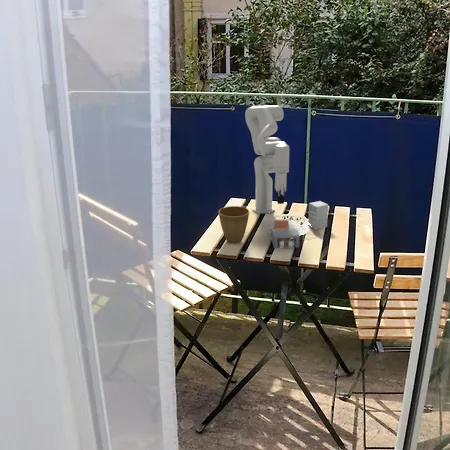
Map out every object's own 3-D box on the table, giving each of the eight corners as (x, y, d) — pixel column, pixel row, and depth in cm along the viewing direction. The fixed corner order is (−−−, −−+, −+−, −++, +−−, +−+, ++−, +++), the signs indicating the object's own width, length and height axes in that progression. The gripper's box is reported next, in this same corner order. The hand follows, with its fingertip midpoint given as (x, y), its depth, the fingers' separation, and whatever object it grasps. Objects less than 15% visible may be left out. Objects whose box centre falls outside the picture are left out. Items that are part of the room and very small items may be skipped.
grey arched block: (274, 231, 291) (274, 219, 289) (287, 231, 291) (287, 219, 289) (276, 240, 280) (277, 228, 278) (290, 240, 280) (291, 228, 278)
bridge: (270, 234, 287) (270, 222, 285) (293, 233, 288) (294, 222, 285) (273, 247, 271) (274, 235, 268) (299, 247, 271) (299, 235, 269)
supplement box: (319, 222, 302) (320, 200, 298) (327, 227, 296) (328, 204, 291) (307, 225, 299) (308, 202, 295) (315, 229, 293) (317, 206, 288)
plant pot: (221, 235, 287) (221, 205, 281) (250, 236, 284) (251, 206, 278) (216, 246, 273) (215, 215, 267) (246, 248, 270) (247, 217, 265)
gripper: (272, 165, 292) (271, 199, 299) (275, 172, 278) (275, 207, 285) (286, 165, 293) (285, 199, 299) (290, 172, 279) (289, 207, 285)
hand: (280, 203), depth 292 cm, fingers closed
